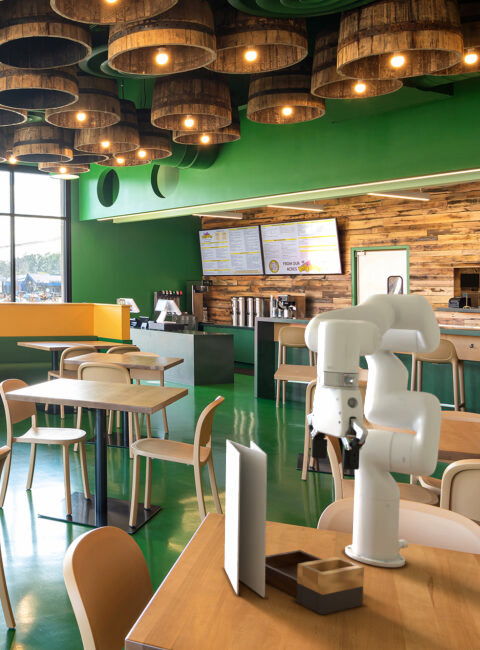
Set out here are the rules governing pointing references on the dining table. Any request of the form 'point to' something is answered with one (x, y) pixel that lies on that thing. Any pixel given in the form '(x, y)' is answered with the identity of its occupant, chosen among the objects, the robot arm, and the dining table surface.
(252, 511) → the brochure
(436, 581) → the dining table surface
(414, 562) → the dining table surface
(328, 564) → the frame top
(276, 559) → the holder
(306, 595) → the frame low
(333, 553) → the dining table surface
